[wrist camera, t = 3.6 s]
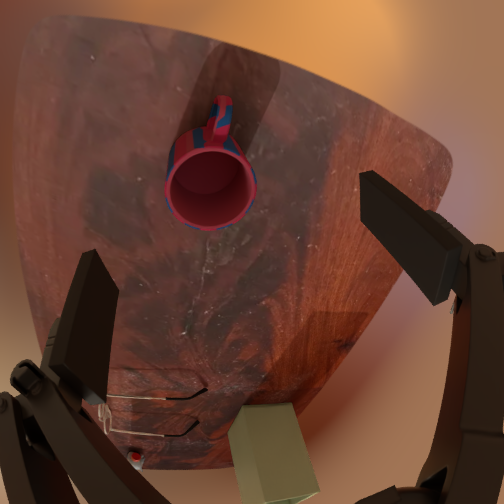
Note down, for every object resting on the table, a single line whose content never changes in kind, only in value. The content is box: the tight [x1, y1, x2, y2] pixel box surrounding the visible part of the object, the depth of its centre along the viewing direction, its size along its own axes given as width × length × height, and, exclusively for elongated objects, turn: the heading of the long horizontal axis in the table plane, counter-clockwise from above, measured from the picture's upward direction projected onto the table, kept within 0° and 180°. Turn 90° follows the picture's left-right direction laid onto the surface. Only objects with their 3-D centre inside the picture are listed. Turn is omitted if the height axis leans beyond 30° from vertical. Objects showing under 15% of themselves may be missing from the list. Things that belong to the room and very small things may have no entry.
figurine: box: [127, 452, 145, 472], centre depth 62 cm, size 5×8×4 cm
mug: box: [165, 95, 257, 230], centre depth 24 cm, size 7×10×7 cm
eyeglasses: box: [99, 388, 208, 437], centre depth 47 cm, size 16×19×5 cm
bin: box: [228, 403, 320, 504], centre depth 51 cm, size 13×10×20 cm
